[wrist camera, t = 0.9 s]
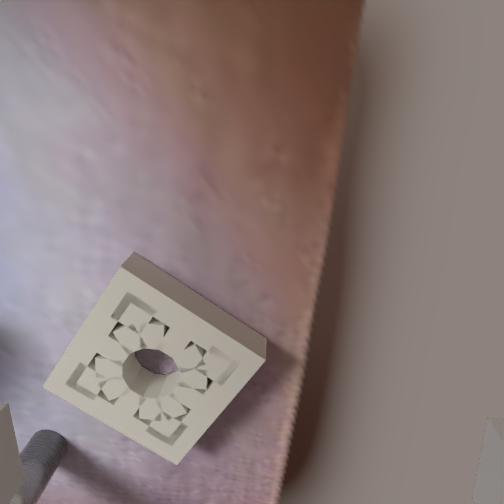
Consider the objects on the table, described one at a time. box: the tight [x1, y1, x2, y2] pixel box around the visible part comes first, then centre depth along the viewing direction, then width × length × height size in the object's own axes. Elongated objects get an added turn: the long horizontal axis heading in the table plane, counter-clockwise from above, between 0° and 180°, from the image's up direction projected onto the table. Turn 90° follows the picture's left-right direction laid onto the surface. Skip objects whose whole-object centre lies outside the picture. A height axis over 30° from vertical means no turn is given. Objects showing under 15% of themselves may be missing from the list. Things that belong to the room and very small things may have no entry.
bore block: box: [42, 252, 267, 465], centre depth 34 cm, size 12×12×3 cm
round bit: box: [9, 430, 67, 504], centre depth 33 cm, size 3×3×12 cm
